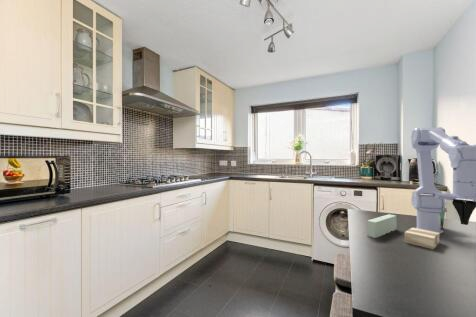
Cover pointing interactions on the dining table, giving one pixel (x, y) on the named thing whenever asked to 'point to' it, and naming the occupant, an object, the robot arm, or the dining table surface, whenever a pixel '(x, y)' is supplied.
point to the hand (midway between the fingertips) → (464, 224)
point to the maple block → (422, 238)
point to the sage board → (381, 225)
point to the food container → (442, 217)
